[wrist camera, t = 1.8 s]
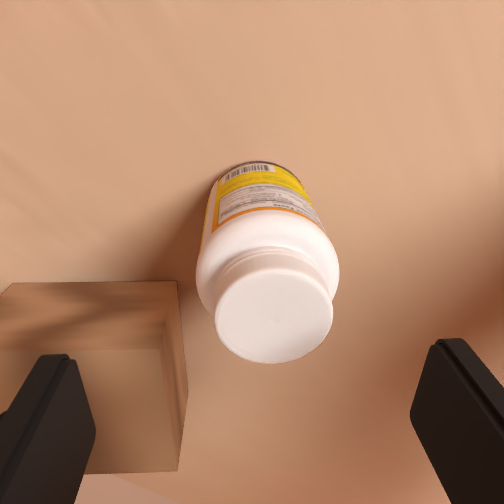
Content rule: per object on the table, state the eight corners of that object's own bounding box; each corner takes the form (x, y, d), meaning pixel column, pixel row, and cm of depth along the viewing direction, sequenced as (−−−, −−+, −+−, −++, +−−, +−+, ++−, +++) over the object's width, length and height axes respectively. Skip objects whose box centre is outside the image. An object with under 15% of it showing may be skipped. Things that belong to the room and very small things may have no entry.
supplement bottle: (263, 264, 23) (281, 403, 14) (188, 213, 21) (153, 335, 12) (326, 197, 21) (394, 308, 12) (249, 134, 19) (261, 210, 10)
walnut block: (176, 280, 23) (159, 349, 18) (188, 391, 28) (177, 471, 23) (12, 283, 23) (-54, 353, 18) (53, 395, 28) (10, 476, 22)
